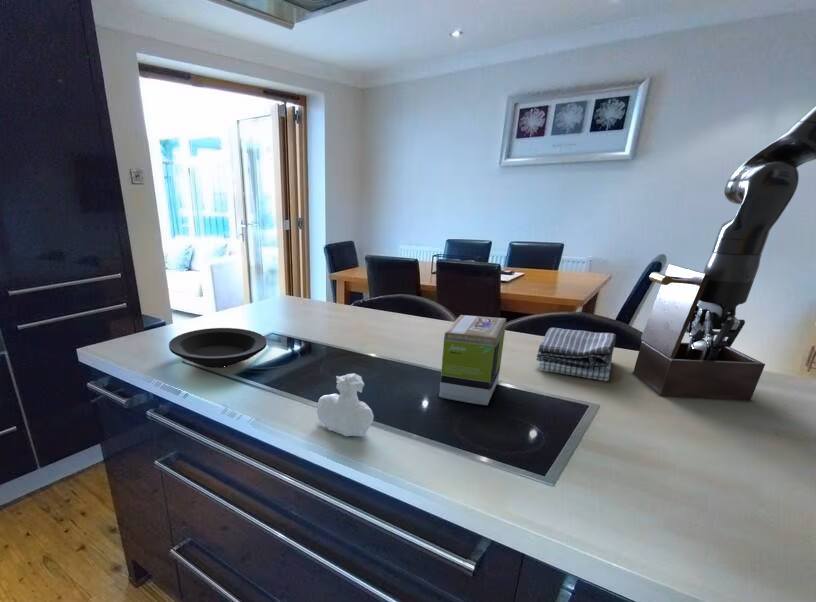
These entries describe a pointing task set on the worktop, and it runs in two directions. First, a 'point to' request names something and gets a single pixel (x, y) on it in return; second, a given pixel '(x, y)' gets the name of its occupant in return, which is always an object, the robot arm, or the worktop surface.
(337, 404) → the bust
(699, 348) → the milkshake
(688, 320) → the lid
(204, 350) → the plate
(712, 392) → the chest
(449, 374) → the tea box
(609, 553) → the worktop surface
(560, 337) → the towel
